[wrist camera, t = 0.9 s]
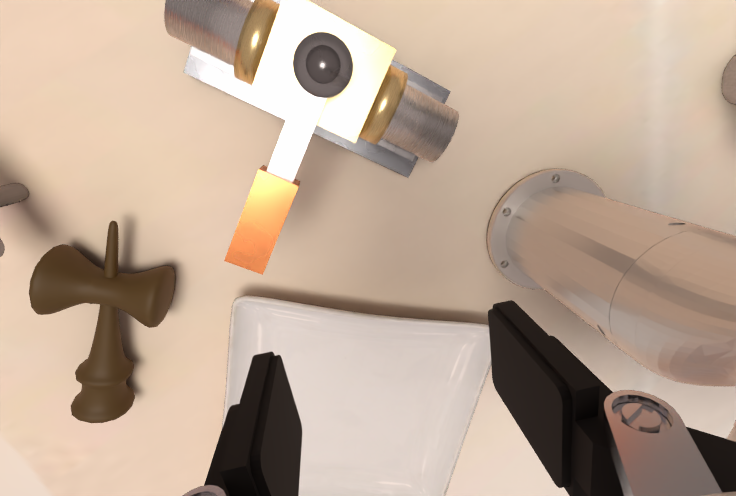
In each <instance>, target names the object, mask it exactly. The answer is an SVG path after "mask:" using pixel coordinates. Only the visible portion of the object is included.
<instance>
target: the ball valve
mask: <svg viewBox="0 0 736 496" xmlns="http://www.w3.org/2000/svg"><path fill="white" fill-rule="evenodd" d="M164 18H165V27H166V30H167V32H168V34H169V35H170V36H172V37H174V38H176V39H178V40H180V41H183V42H185V43H187V44H189V45H191V49H190V52H189V56H188V59H187V62H186V66H185V69H184V73H186V74H188V75H190V76H192V77H194V78H196V79H198V80H201V81H203V82H205V83H207V84H209V85H211V86H213V87H216V88H218V89H220V90H222V91H224V92H226V93H228V94H230V95H233V96H235V97H237V98H239V99H241V100H243V101H245V102H248V103H250V104H252V105H254V106H256V107H258V108H260V109H263V110H265V111H267V112H269V113H271V114H273V115H275V116H277V117H280V118H282V119H284V120H286V119H287V116H288V113H289V111H290V108H291V106H292V103H293V100H294V98H295V95H296V92H297V90H298V87H299V85H300V84H299V83H298V81H297V79H296V77H295V74H294V69H293V57H294V53H295V50H296V48H297V46H298V44H299V43H300V42H301V41H302V40H303V39H304V38H305V37H306V36H308V35H310V34H312V33H315V32H327V33H331V34H333V35H335V36H337V37H339V38H340V39H341V40H342V41H343V42H344V43H345V44H346V46H347V47H348V49H349V51H350V53H351V56H352V60H353V73H352V77H351V80H350V82H349V84H348V85H347V87H346V88H345V89H344V90H343V91H342V92H341V93H340V94H338V95H337V96H335V97H332V98H328V99H326V102H325V104H324V107H323V109H322V112H321V114H320V116H319V119H318V121H317V124H316V126H315V129H314V131H313V133H314V134H316V135H318V136H320V137H322V138H324V139H327V140H329V141H331V142H333V143H335V144H337V145H339V146H342V147H344V148H346V149H348V150H350V151H352V152H354V153H356V154H359V155H361V156H363V157H365V158H367V159H369V160H371V161H374V162H376V163H378V164H380V165H382V166H384V167H386V168H388V169H391V170H393V171H395V172H397V173H399V174H401V175H403V176H406V177H409V175H410V173H411V171H412V169H413V167H414V165H415V163H416V161H417V159H418V157H421V158H423V159H425V160H427V161H429V162H434V161H435V160H437V159H438V158H439V157H440V155H441V154H442V153H443V152H444V150H445V149H446V147H447V146H448V144H449V142H450V140H451V138H452V136H453V134H454V132H455V129H456V127H457V123H458V118H459V114H458V112H457V111H456V110H454V109H452V108H450V107H448V106H446V105H445V102H446V100H447V98H448V96H449V94H450V92H451V91H449V90H447V89H445V88H443V87H442V86H440V85H438V84H436V83H434V82H432V81H431V80H429V79H427V78H425V77H423V76H422V75H420V74H418V73H416V72H414V71H412V70H411V69H409V68H407V67H405V66H403V65H401V64H400V63H398V62H396V61H394V60H392V58H393V56H394V54H395V52H396V49H394V48H393V47H391V46H389V45H387V44H385V43H384V42H382V41H380V40H378V39H376V38H375V37H373V36H371V35H369V34H367V33H366V32H364V31H362V30H360V29H358V28H357V27H355V26H353V25H351V24H349V23H348V22H346V21H344V20H342V19H340V18H339V17H337V16H335V15H333V14H331V13H330V12H328V11H326V10H324V9H322V8H321V7H319V6H317V5H315V4H313V3H312V2H310V1H308V0H166V3H165V12H164Z"/></svg>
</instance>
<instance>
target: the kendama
mask: <svg viewBox="0 0 736 496" xmlns="http://www.w3.org/2000/svg"><path fill="white" fill-rule="evenodd" d="M174 287H175V273H174V269H173V268H171V267H169V266H162V267H158V268H154V269H151V270H148V271H144V272H140V273H133V274H127V273H119V272H118V225H117V222H116V221H111V222H110V225H109V229H108V236H107V246H106V256H105V267H104V269H101V268H99V267H97V266H96V265H94V264H93V263H92V262H90V261H89V260H88V259H87V258H86V257H85V256H84V255H83V254H81V253H80V252H79V251H78V250H77V249H75V248H74V247H71V246H68V245H63V244H62V245H59V246H56V247H53V248H52V249H51V250H50V251H48V252H47V253H46V254H45V255H44V256H43V257H42V258H41V260H40V261H39V262H38V264H37V265H36V267H35V269H34V272H33V275H32V277H31V280H30V289H29V296H30V301H31V307H32V308H33V310H34V311H35V312H36V313H37V314H40V315H43V314H52V313H55V312H58V311H61V310H64V309H66V308H69V307H72V306H75V305H78V304H81V303H90V304H93V303H94V304H100V310H99V316H98V322H97V326H96V331H95V336H94V340H93V344H92V348H91V351H90V354H89V357H88V359H86V360H85V361H84V362H83V363H81V364H80V365H79V367H78V368H77V370H76V372H75V374H76V380H77V381H78V382H80V383H82V390H81V392H80V393H79V394H78V395H77V396H76V397H75V399H74V401H73V403H72V404H71V412H72V415H73V416H74V417H75V418H77V419H78V420H80V421H85V422H89V423H104V422H107V421H111V420H115V419H117V418H119V417H120V416H122V415H124V414H125V413H126V412H127V411H128V410H129V409H130V408H131V406H132V405H133V402H134V399H135V395H134V391H133V389H132V388H130V387H129V386H127V385H126V379H127V378H128V377H129V376H130V375H131V374H132V371H133V368H134V365H133V362H132V360H130V359H128V358H127V357H125V355H124V352H123V347H122V341H121V334H120V325H119V312H118V308H119V309H121V310H123V311H125V312H127V313H128V314H130V315H131V316H133V317H134V318H135V319H137V320H138V321H139V322H141V323H142V324H143V325H145V326H147V327H149V328H150V327H157V326H158V325H159V324H160V323H161V322H162V321H163V319H164V318H165V316H166V314H167V312H168V309H169V307H170V304H171V301H172V297H173V292H174Z"/></svg>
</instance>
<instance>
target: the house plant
mask: <svg viewBox="0 0 736 496" xmlns="http://www.w3.org/2000/svg"><path fill="white" fill-rule="evenodd" d="M722 94H723V96H724V98H725V99H726V100H727V101H728V102H730V103H732V104H736V55H735V56H734V57H733V58H732V59H731V60H730V62H729V63H728V64H727V66H726V68H725V70H724V73H723V78H722Z"/></svg>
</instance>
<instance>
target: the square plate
mask: <svg viewBox="0 0 736 496" xmlns="http://www.w3.org/2000/svg"><path fill="white" fill-rule="evenodd" d="M271 351H272V352H273V353H274V355H275V356H276V355H280V356H281V358H282V361H283V364H284V368H285V371H286V374H287V377H288V381H289V384H290V387H291V390H292V394H293V397H294V400H295V404H296V407H297V410H298V413H299V417H300V420H301V424H302V447H301V463H300V479H299V495H298V496H445V495H446V492H447V489H448V486H449V483H450V480H451V477H452V474H453V471H454V468H455V465H456V462H457V460H458V457H459V454H460V451H461V448H462V445H463V442H464V439H465V436H466V433H467V431H468V428H469V425H470V422H471V419H472V416H473V414H474V411H475V408H476V405H477V402H478V399H479V396H480V394H481V391H482V389H483V386H484V383H485V380H486V377H487V375H488V372H489V369H490V366H491V350H490V335H489V325H487V324H479V323H468V322H454V321H440V320H426V319H414V318H403V317H393V316H383V315H374V314H366V313H359V312H351V311H345V310H339V309H333V308H326V307H320V306H314V305H308V304H303V303H297V302H291V301H285V300H279V299H273V298H266V297H259V296H248V295H246V296H242V297H238V298H236V299H235V300H234V302H233V305H232V312H231V319H230V328H229V347H228V364H227V377H226V393H225V403H224V413H223V423H222V428H223V425H224V422H225V419H226V416H227V412H228V410H229V408H230V407H231V406H232V405H235V404H239V403H240V399H241V396H242V392H243V389H244V385H245V382H246V379H247V375H248V372H249V368H250V365H251V361H252V358H253V356H254V355H257V354H262V353H267V352H271Z"/></svg>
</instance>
